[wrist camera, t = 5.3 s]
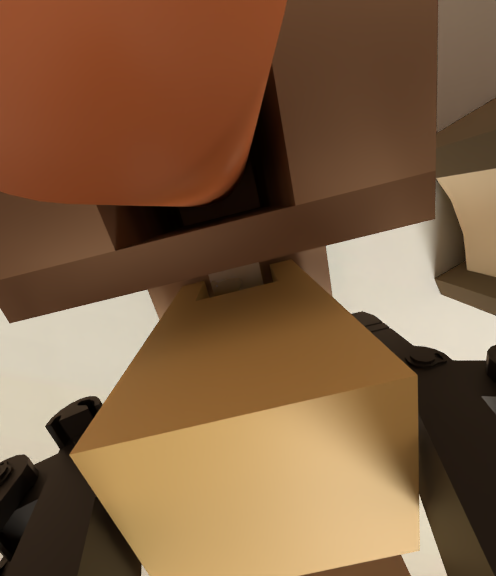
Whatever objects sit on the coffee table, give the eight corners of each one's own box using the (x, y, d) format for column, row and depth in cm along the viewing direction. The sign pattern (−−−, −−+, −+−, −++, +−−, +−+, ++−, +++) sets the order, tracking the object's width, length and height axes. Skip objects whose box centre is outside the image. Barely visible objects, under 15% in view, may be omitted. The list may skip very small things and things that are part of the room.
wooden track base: (352, 486, 22) (437, 691, 12) (243, 510, 22) (248, 727, 13) (294, 89, 12) (481, -285, 3) (102, 139, 12) (-279, -56, 3)
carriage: (305, 339, 14) (419, 550, 6) (209, 362, 15) (167, 603, 6) (291, 259, 13) (417, 375, 4) (182, 285, 13) (68, 455, 4)
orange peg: (162, 217, 7) (-74, 249, 2) (123, 104, 6) (-668, -631, 1) (257, 193, 7) (331, 144, 2) (232, 75, 6) (210, -989, 1)
